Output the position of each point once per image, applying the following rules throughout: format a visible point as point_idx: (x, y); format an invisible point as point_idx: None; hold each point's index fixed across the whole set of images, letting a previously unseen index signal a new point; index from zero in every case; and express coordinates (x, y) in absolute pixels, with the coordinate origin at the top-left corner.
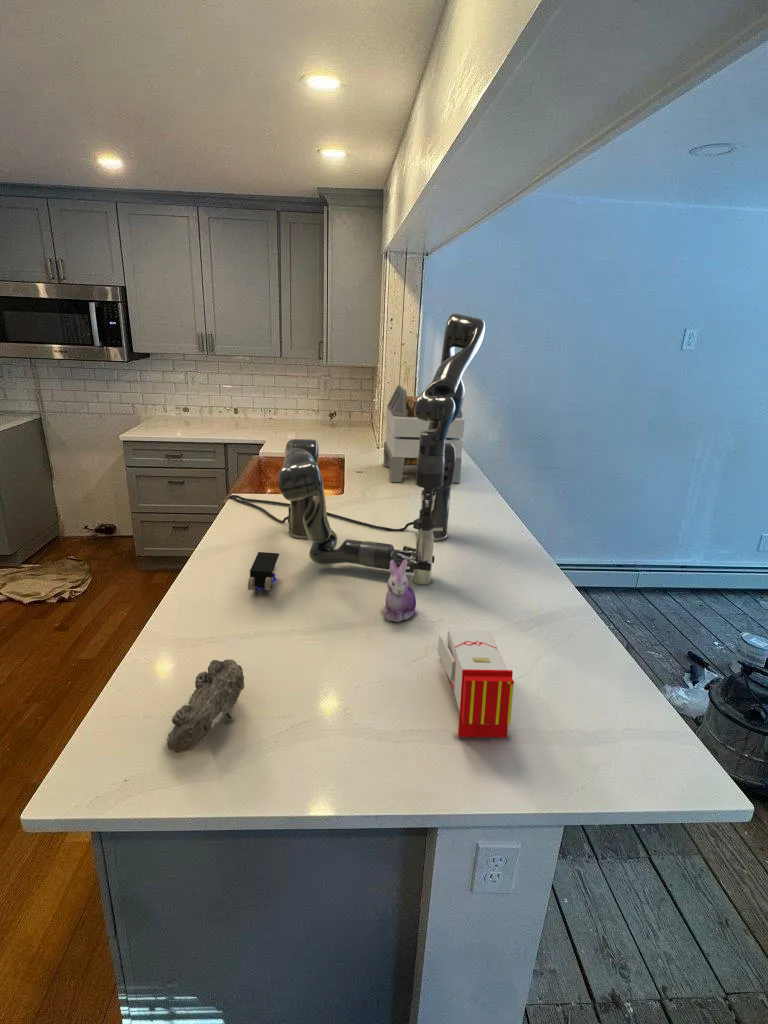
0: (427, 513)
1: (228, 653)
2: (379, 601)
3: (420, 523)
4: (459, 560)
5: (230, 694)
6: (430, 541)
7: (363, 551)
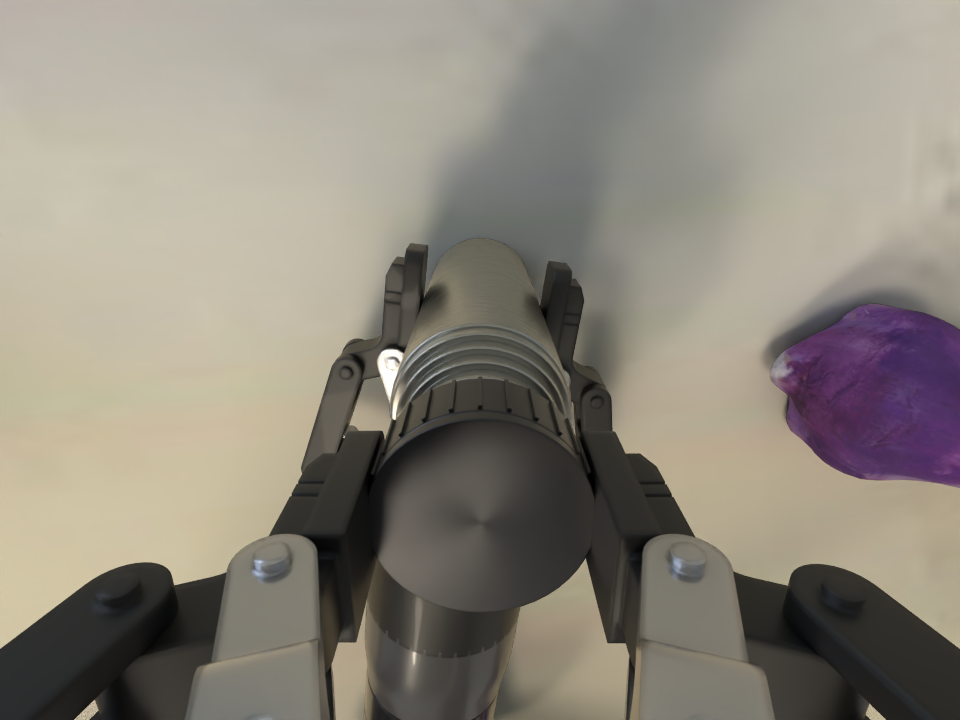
0: (355, 577)
1: None
2: (740, 467)
3: (557, 575)
4: (90, 44)
5: None
6: (549, 347)
7: (499, 682)
